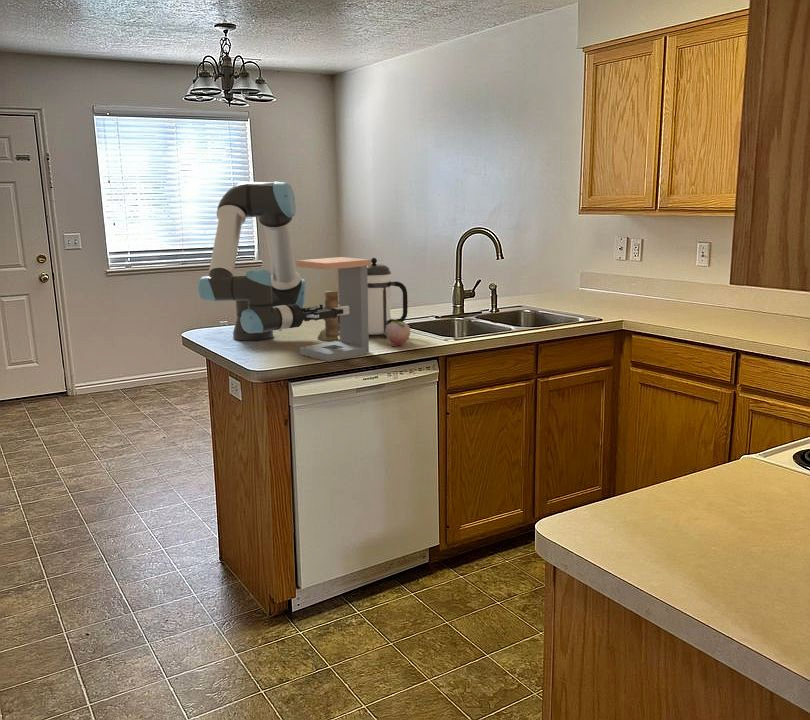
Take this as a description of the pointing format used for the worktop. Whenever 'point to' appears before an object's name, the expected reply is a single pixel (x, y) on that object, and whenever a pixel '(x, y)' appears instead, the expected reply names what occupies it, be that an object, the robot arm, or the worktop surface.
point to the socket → (351, 295)
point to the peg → (331, 323)
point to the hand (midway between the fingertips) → (343, 309)
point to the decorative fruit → (397, 332)
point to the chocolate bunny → (323, 336)
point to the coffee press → (381, 298)
